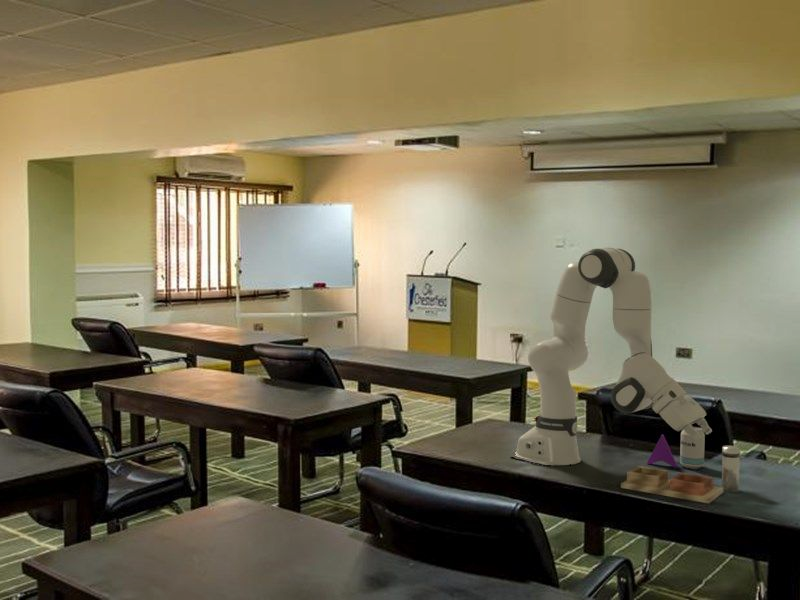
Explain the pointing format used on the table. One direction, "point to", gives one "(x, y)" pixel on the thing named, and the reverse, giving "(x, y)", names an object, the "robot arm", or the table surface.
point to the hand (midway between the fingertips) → (704, 435)
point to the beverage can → (692, 450)
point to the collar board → (672, 484)
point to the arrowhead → (662, 453)
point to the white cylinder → (730, 468)
